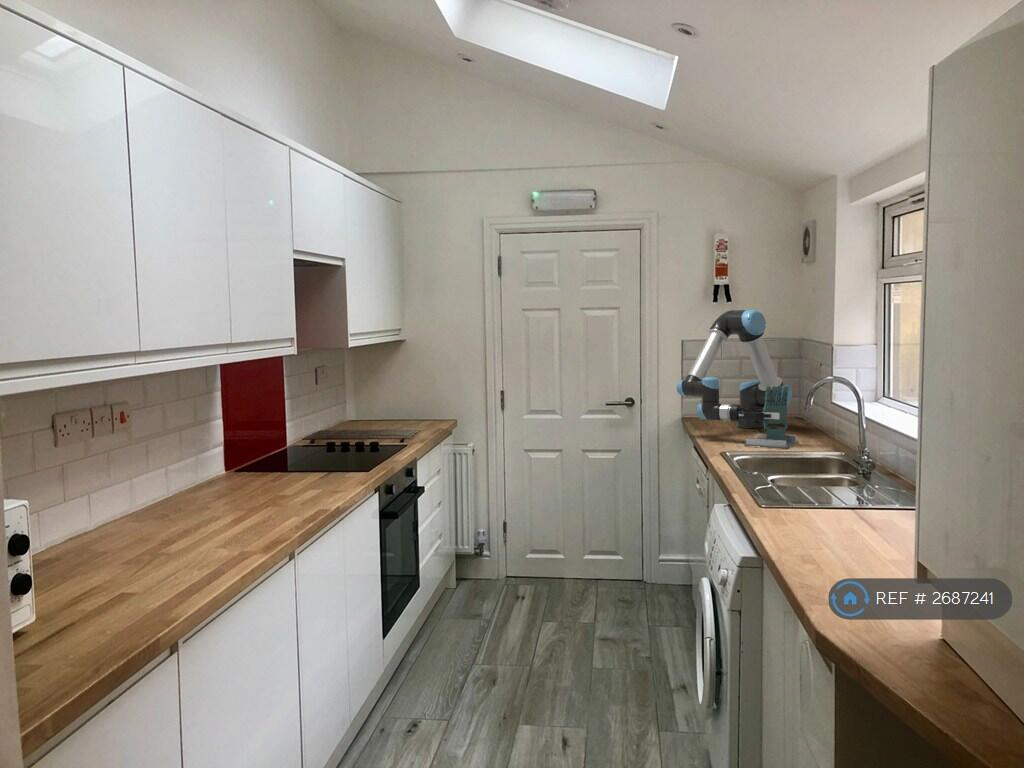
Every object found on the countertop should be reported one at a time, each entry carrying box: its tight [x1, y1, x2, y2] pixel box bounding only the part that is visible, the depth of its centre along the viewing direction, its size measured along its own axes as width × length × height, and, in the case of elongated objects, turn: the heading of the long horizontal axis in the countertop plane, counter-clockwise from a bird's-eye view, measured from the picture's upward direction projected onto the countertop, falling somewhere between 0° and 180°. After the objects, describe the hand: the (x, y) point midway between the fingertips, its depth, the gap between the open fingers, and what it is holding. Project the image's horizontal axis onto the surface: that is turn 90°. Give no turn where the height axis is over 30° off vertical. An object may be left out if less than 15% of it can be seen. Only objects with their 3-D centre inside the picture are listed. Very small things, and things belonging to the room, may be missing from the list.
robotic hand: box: [757, 385, 789, 440], centre depth 352 cm, size 14×10×25 cm
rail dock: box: [743, 432, 799, 450], centre depth 355 cm, size 18×18×4 cm
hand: (782, 414), depth 351 cm, fingers closed on robotic hand, 8 cm apart
